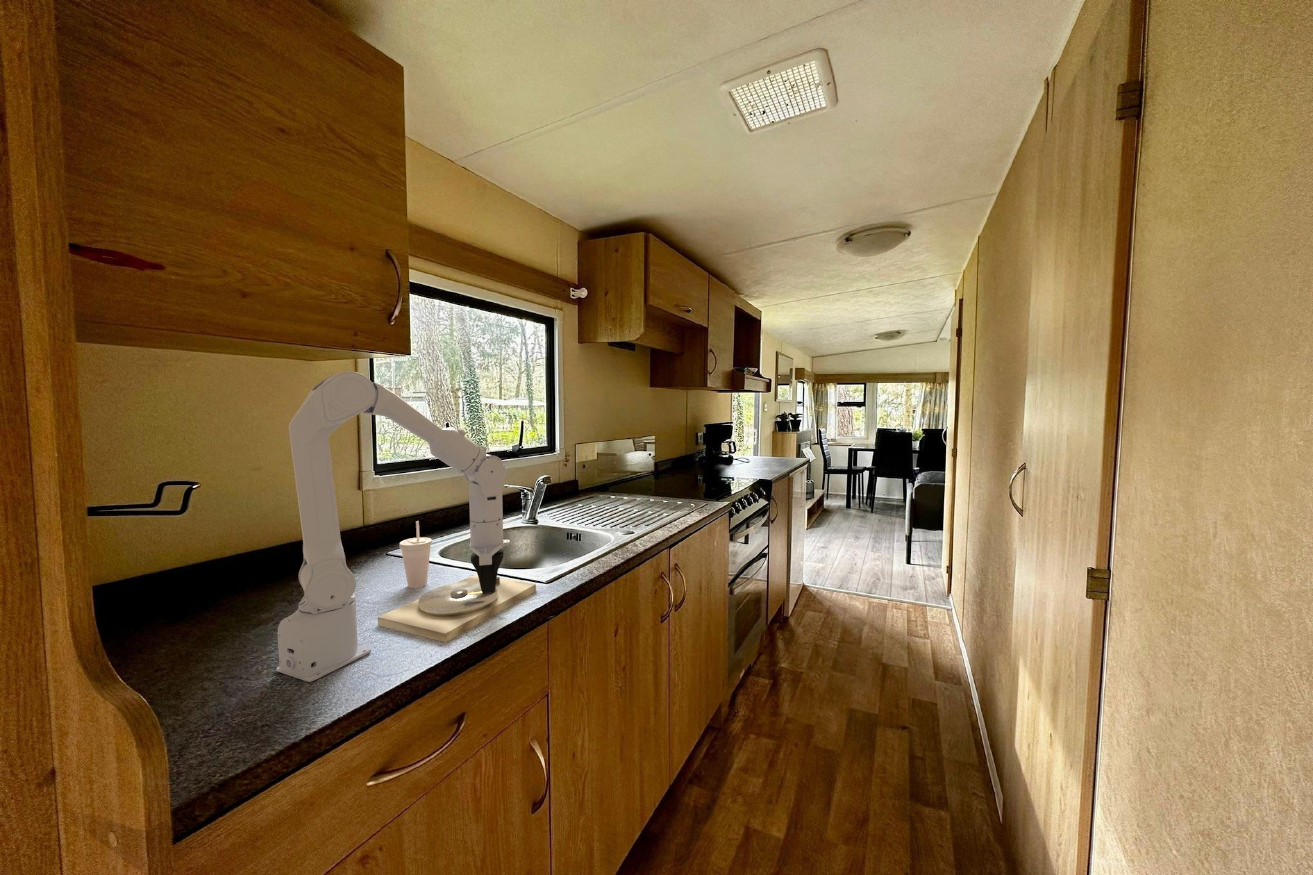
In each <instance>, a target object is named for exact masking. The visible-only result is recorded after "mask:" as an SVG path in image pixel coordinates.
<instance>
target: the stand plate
mask: <svg viewBox="0 0 1313 875" xmlns="http://www.w3.org/2000/svg"><path fill="white" fill-rule="evenodd" d="M462 582H479V578H478V574H477V573H476V574H474V575H471V576H469V577H467V578H464V579H462V580H459V581H458V582H456V583H462ZM496 588H497V590H498V597H497V599H496V601H495V602H493V603H492V604H491V605H489V606H487V607H485V608H483V609H480V610H477V611H474V612H470V613H466V614H461V615H453V616H435V615H429V614H426V613H423V612H421V611H420V609H419V602H418V601H419V599H420V598H417V599H415V600H414V601H411V602H409V603H406V604H405V605H402V606H400V607H398V608H397V607H396V608H395V609H394V610H391V611H389V612H387V613H384V614H382V615H380V616H378V617H377V626H380V627H383V628H387V629H390V630H391V629H392V630H394V631H399V632H402V633H403V632H404V633H407V634H411V635H414V636H419V637H424V638H427V639H431V640H435V641H437V642H438V641H439V642H443V643H447V642H449V641H450V640H453V639H454V638H456V637H458V636H459V635H461V634H463V633H465V632H466V631H468V630H471V629H472V628H474V627H476V626H477V625H479V624H480V623H483V622H484V621H486V620H488V619H490V618H491V617H493V616H494V615H497V614H499V613H500V612H502V611H503V610H505V609H507V608H509V607H511V606H512V605H515V604H516V603H518V602H520V601H521V600H524V599H525V598H527V597H528V596H530V595H532V594H534V593H536V592H537V585H536V583H531V582H526V581H521V580H520V581H519V580H513V579H507V578H502V577H500V576H497V579H496Z"/></svg>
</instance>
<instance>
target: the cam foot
mask: <svg viewBox="0 0 1313 875" xmlns="http://www.w3.org/2000/svg"><path fill="white" fill-rule="evenodd" d="M497 597H498V590H497V588H496V586H495V590H494V592H490V593H482V590H481V587H480V582H462V583H457V582H455V583H450V584H445V585H441V586H439V587H436V588H432V589H431V590H428V591H426V592H424V593H423V594H422V595H421V596H420V597H419V598H418V599H419V601H418V602H419V609H420V611H421V612H423V613H426V614H429V615H435V616H453V615H461V614H466V613H470V612H474V611H477V610H480V609H483V608H485V607H487V606H489V605H491V604H492V603H493V602H495V601H496V599H497Z"/></svg>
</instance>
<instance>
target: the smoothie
mask: <svg viewBox="0 0 1313 875" xmlns="http://www.w3.org/2000/svg"><path fill="white" fill-rule="evenodd" d="M415 528H416V533H415V534H416V537H413V538H407V539H404V540H402V541H400V542H399V549H401V555H402V560H403V566H404V572H405V576H406V577H405V578H406V582H407V583H406V584H407V587H408V588H410V589H417V588H422V587H424V586H427V584H428V577H429V576H428V574H429V566H430V556H431V555H430V554H431V546H432V545H433V539H432V538H431V537H425V536H424V537H423V536H422V537H421V536H420V521H419V520H417V521H415Z"/></svg>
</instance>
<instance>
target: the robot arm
mask: <svg viewBox="0 0 1313 875" xmlns="http://www.w3.org/2000/svg"><path fill="white" fill-rule="evenodd" d="M360 414H368V415H374V416H380V417H385V418H387V419H389V420H391V421H392V422H393V423H395V424H397V425H399V426H401V427H402V428H404V429H405V430H407V431H409V433H412V434H413V435H415V436H417V437H418V438H420V439H422V440H423V441H425V442H426V443H427V444H428V446H429V450H430V454H431V455H432V456H433V457H435V458H437V459H438V460H440V461H441V462H443V463H444V464H445V465H447V466H449V467H450V468H452V469H453V470H455V471H457V473H459V474H462V475H463V477H464V478H465V480H466V481H467V482H468V486H469V488H468V489H469V492H468V493H469V496H468V498H469V499H468V500H469V501H468V502H469V533H470V536H469V537H470V543H469V550H470V551H472V552H473V553H471V555H470V562H471V564H472V566H473V567H474V569H475V571H476V574H478V578H479V582H480V587H481V590H482V593H490V592H494V590H495V586H496V579H497V577H498V572H499V569H500V565H501V563H502V562H503V559H504V549H503V548H504V547H509V546H510V545H511V540H510V539H504V519H503V518H504V517H503V515H504V512H503V487H502V486H503V483H504V482H505V481H506V479H507V475H508V469H507V468H506V465H505V464H504V461H503V460H502V459H501V458H500V457H499V456H497V455H494V454H493V455H492V454H488V453H487V450H488V448H487V447H485V446H484V445H480V446H479V445H478V444H477V443H476V442H474V441H473V440H471V439H470V438H469V437H467V436H466V434H467V432H466V431H465V430H463V429H462V428H457V429H455V428H454V427H451V426H450V427H444V428H441V427H440V426H439V425H438V424H436V423H434V421H432V420H431V419H429V418H428V417H426V416H425V415H424V414H422V413H421V412H420V411H418V410H417V409H416V408H415V407H413V406H412V405H410V404H409V403H408V402H406V401H405V400H404V399H403V398H401V397H400V396H398V395H397V394H396V393H395V392H393V391H391V390H390V389H388V388H386V387H385V386H384V385H381V384H380V383H378V382H375V381H373V382H372V381H371V380H370V378H369V377H367V376H366V375H364V374H363V373H360V372H357V371H352V370H347V371H341V372H338V373H336V374H332V375H329V376H327V377H325V378H324V379H323V380H321V381H320V382H318V384H317V383H316V385H314V386H313V387H311V389H310V391H309V392H308V394H307V396H306V398H304V401H303V402H302V404H301V405H300V407H299V408H298V409H297V411H296V413H295V414H294V415H293V417H292V419H291V420H290V422H289V424H288V436H289V443H290V449H291V450H290V451H291V457H292V466H293V474H294V483H295V489H296V496H297V505H298V510H299V518H300V519H299V520H300V527H301V536H302V543H303V544H302V554H303V560H302V564H301V566H300V569H299V572H298V581H299V583H300V586H301V587H302V589H303V594H304V596H303V597H302V598H301V600H300V601H299V602H298V608H297V609H296V611H295V612H293V613H292V614H291V615H289V616H287V617H285V618H283V619H282V620H280V622H279V624H278V627H277V650H278V665H279V666H277V667H276V672H279V673H282V674H285V675H286V676H291V677H292V678H295V679H298V680H299V679H300V680H302V681H304V682H308V683H311V682H314V681H315V680H316V681H317V680H318V679H320V678H322V677H325V676H326V675H329V674H330V673H332V672H334V671H336V670H338V669H340V668H342V667H344V666H345V665H348V664H350V663H352V662H355V661H356V660H358V659H360V658H362V657H364V656H366V655H368V654H370V653H371V652H372V648H369V647H367V646H363V645H359V643H358V626H357V625H358V622H357V620H358V619H357V603H356V601H357V600H356V594H355V591H356V586H357V580H356V578H355V575H354V573H353V572H352V571H351V570H350V569H349V568H348V566H347V562H346V554H345V552H344V551H345V550H344V547H343V543H342V539H341V537H342V536H341V530H340V523H339V522H340V521H339V514H338V506H337V505H338V504H337V498H336V489H335V481H334V475H333V474H334V473H333V464H332V463H333V462H332V457H331V456H332V455H331V448H330V441H329V440H330V436H331V435H332V434H334V432H335V431H336V430H337V429H339V428H340V427H341V426H342V425H343V424H344V423H345V422H346V421H348V420H350V419H351V418H354V417H356V416H358V415H360Z"/></svg>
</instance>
